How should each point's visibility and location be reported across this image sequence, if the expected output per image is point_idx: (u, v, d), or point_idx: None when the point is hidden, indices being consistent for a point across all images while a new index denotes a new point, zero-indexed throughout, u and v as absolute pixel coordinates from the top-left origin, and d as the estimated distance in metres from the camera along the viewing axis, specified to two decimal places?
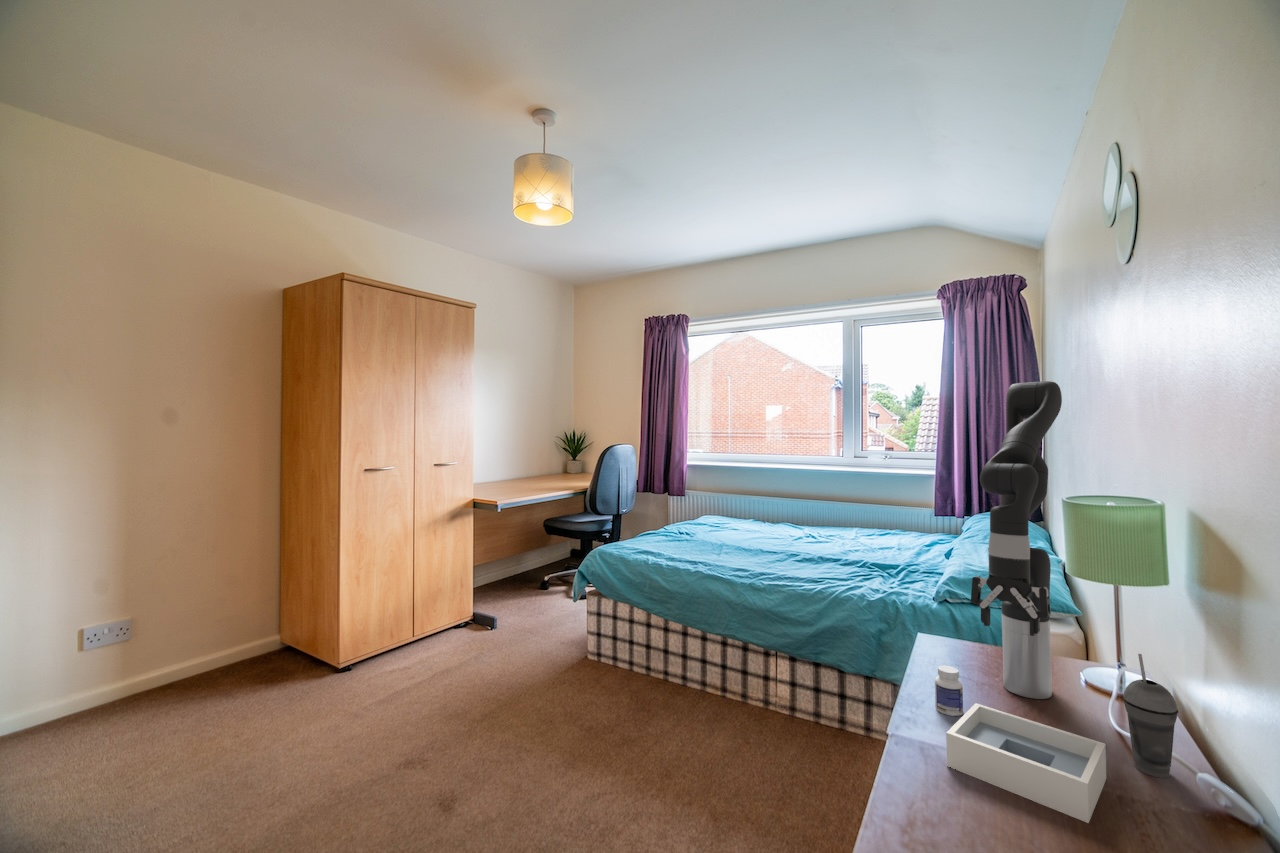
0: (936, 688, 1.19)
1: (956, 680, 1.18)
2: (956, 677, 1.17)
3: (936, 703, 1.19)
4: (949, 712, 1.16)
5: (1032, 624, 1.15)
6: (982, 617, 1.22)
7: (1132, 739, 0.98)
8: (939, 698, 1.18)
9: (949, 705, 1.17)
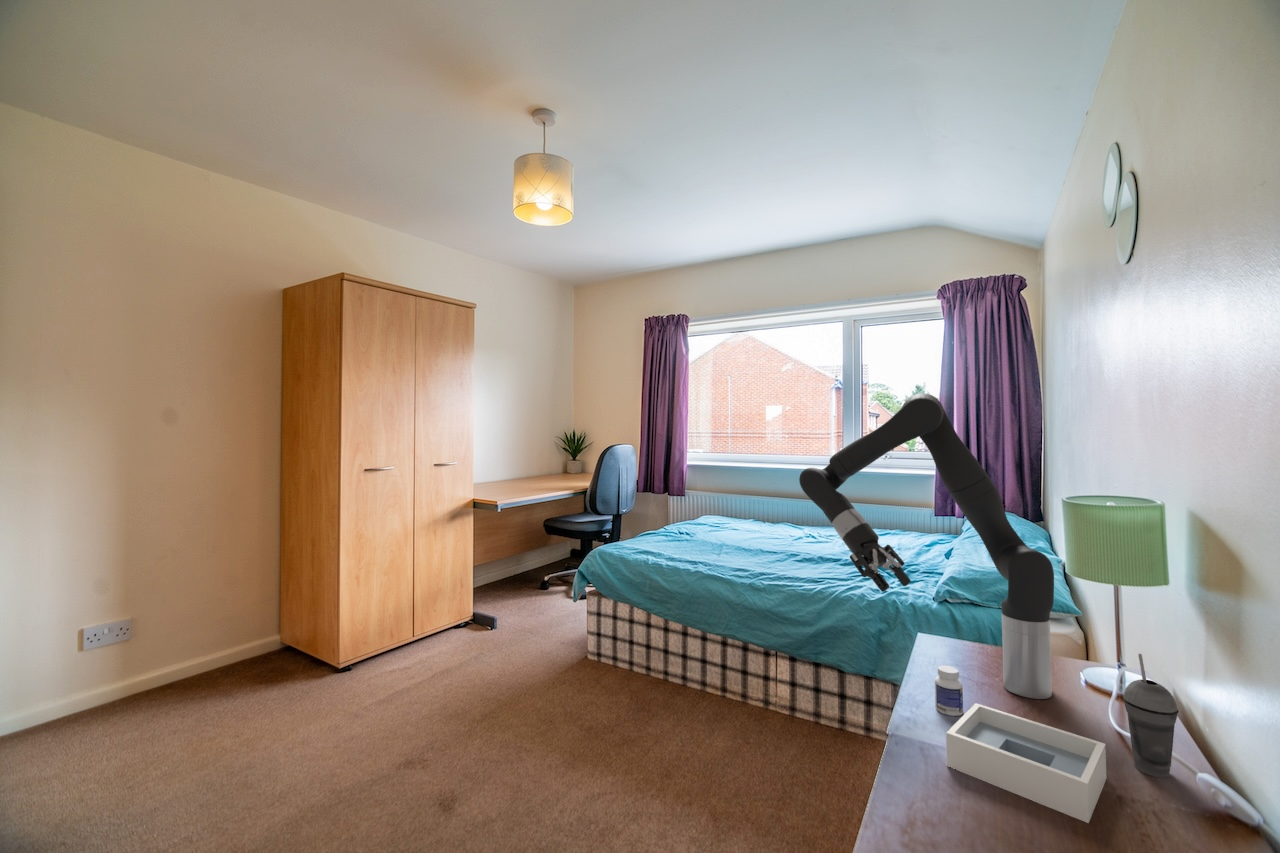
0: (936, 688, 1.19)
1: (956, 680, 1.18)
2: (956, 677, 1.17)
3: (936, 703, 1.19)
4: (949, 712, 1.16)
5: None
6: None
7: (1132, 739, 0.98)
8: (939, 698, 1.18)
9: (949, 705, 1.17)
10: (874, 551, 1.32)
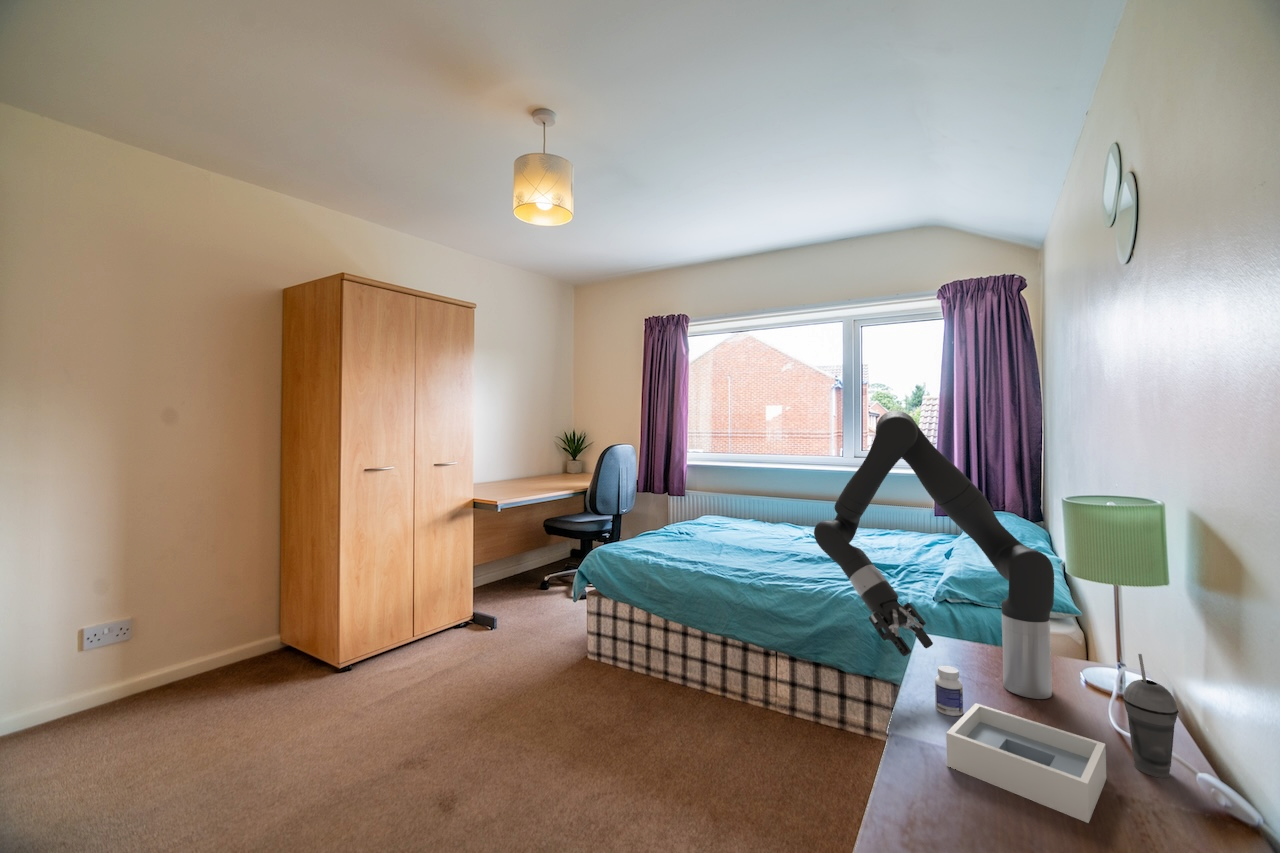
0: (936, 688, 1.19)
1: (956, 680, 1.18)
2: (956, 677, 1.17)
3: (936, 703, 1.19)
4: (949, 712, 1.16)
5: None
6: None
7: (1132, 739, 0.98)
8: (939, 698, 1.18)
9: (949, 705, 1.17)
10: (894, 612, 1.28)
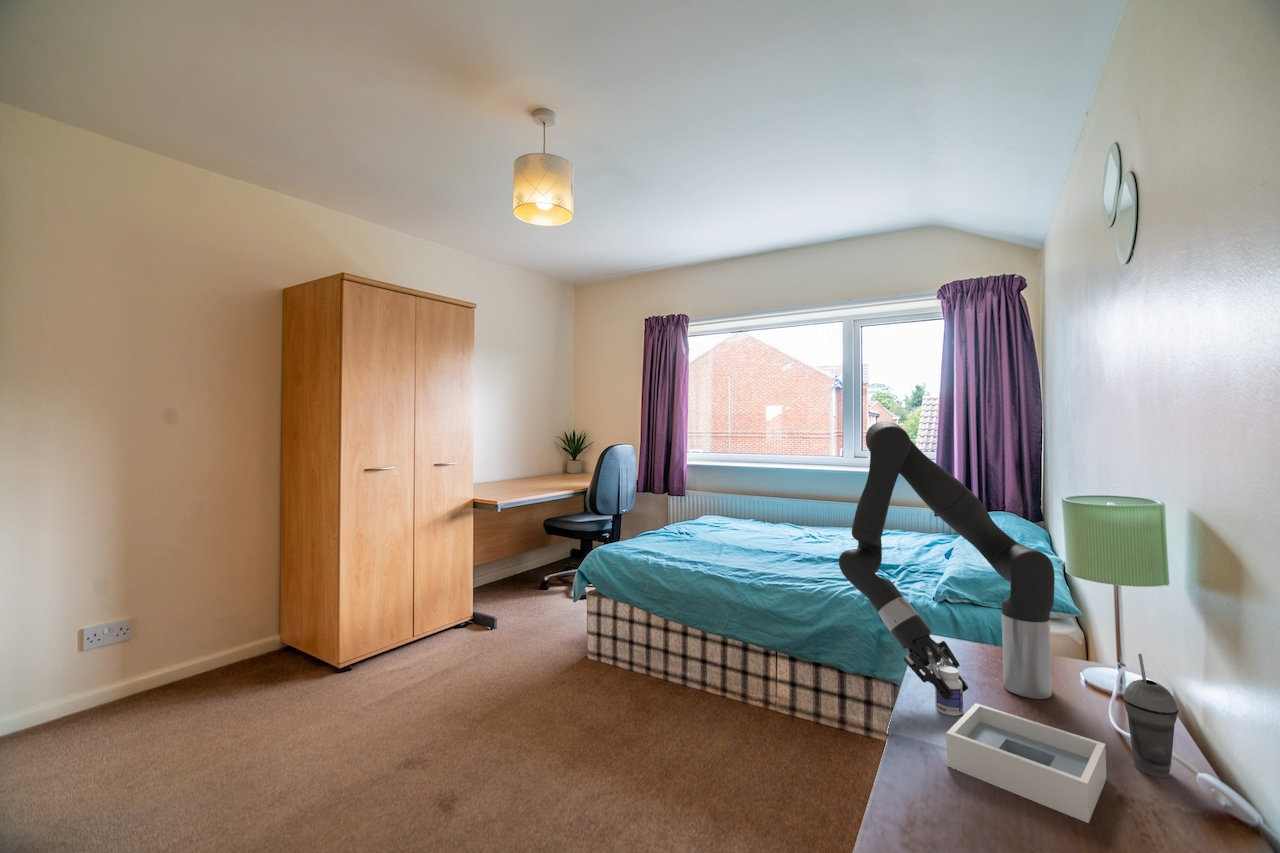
0: None
1: (956, 680, 1.18)
2: (956, 677, 1.17)
3: (936, 703, 1.19)
4: (949, 712, 1.16)
5: None
6: None
7: (1132, 739, 0.98)
8: (939, 698, 1.18)
9: (949, 705, 1.17)
10: (928, 649, 1.21)
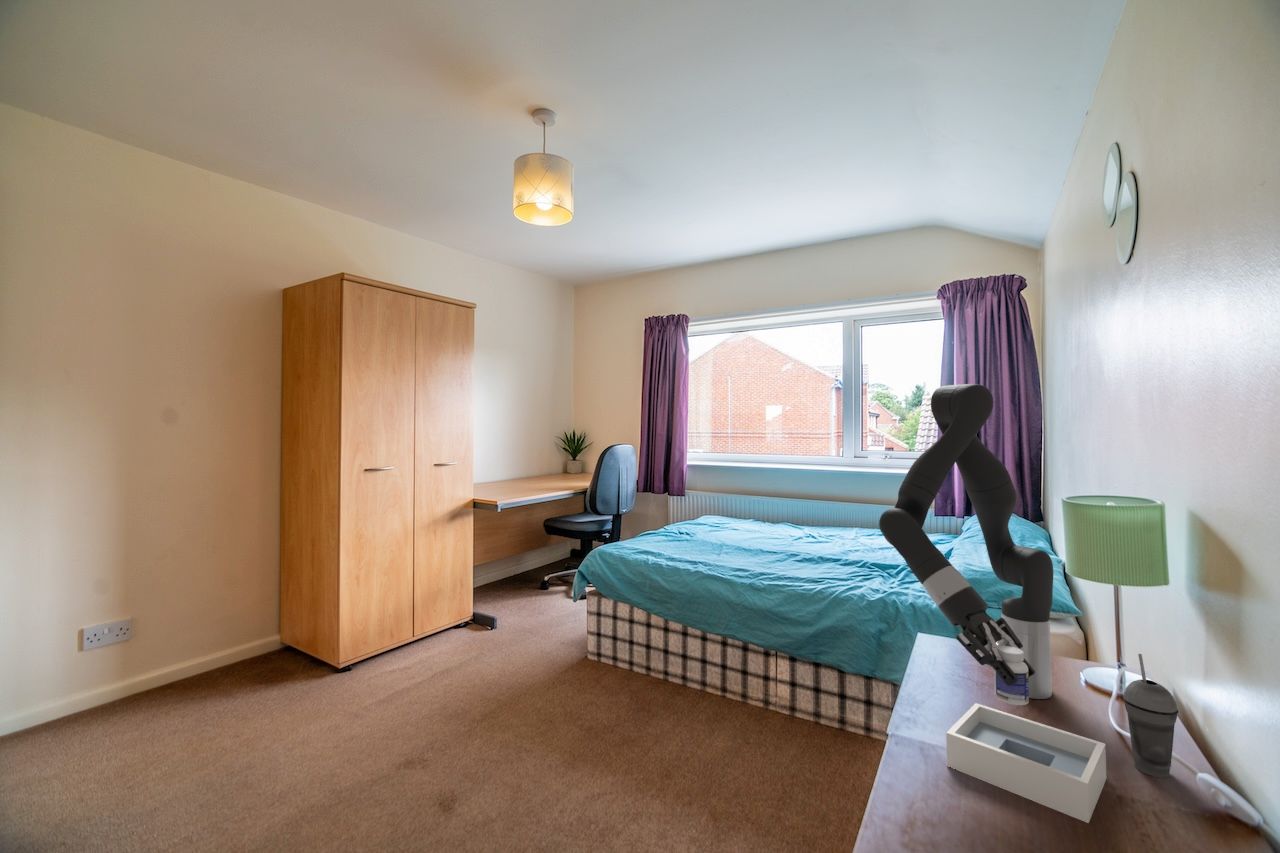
0: (996, 672, 0.99)
1: (1021, 663, 0.98)
2: (1021, 659, 0.97)
3: (995, 690, 1.00)
4: (1013, 701, 0.97)
5: None
6: None
7: (1132, 739, 0.98)
8: (1000, 684, 0.98)
9: (1013, 692, 0.97)
10: (985, 626, 1.02)
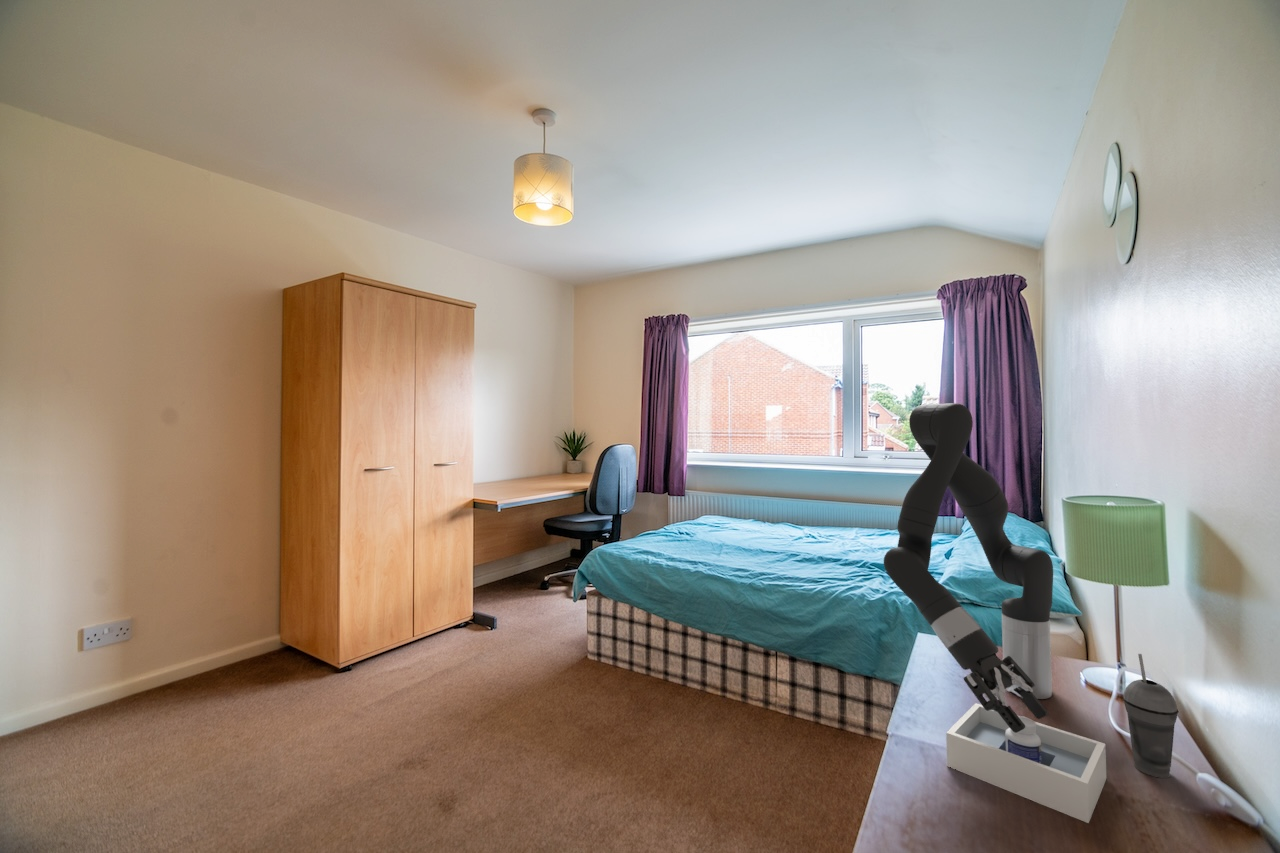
0: (1008, 744, 0.97)
1: (1033, 735, 0.96)
2: (1033, 731, 0.96)
3: None
4: None
5: None
6: None
7: (1132, 739, 0.98)
8: None
9: None
10: (996, 671, 0.99)
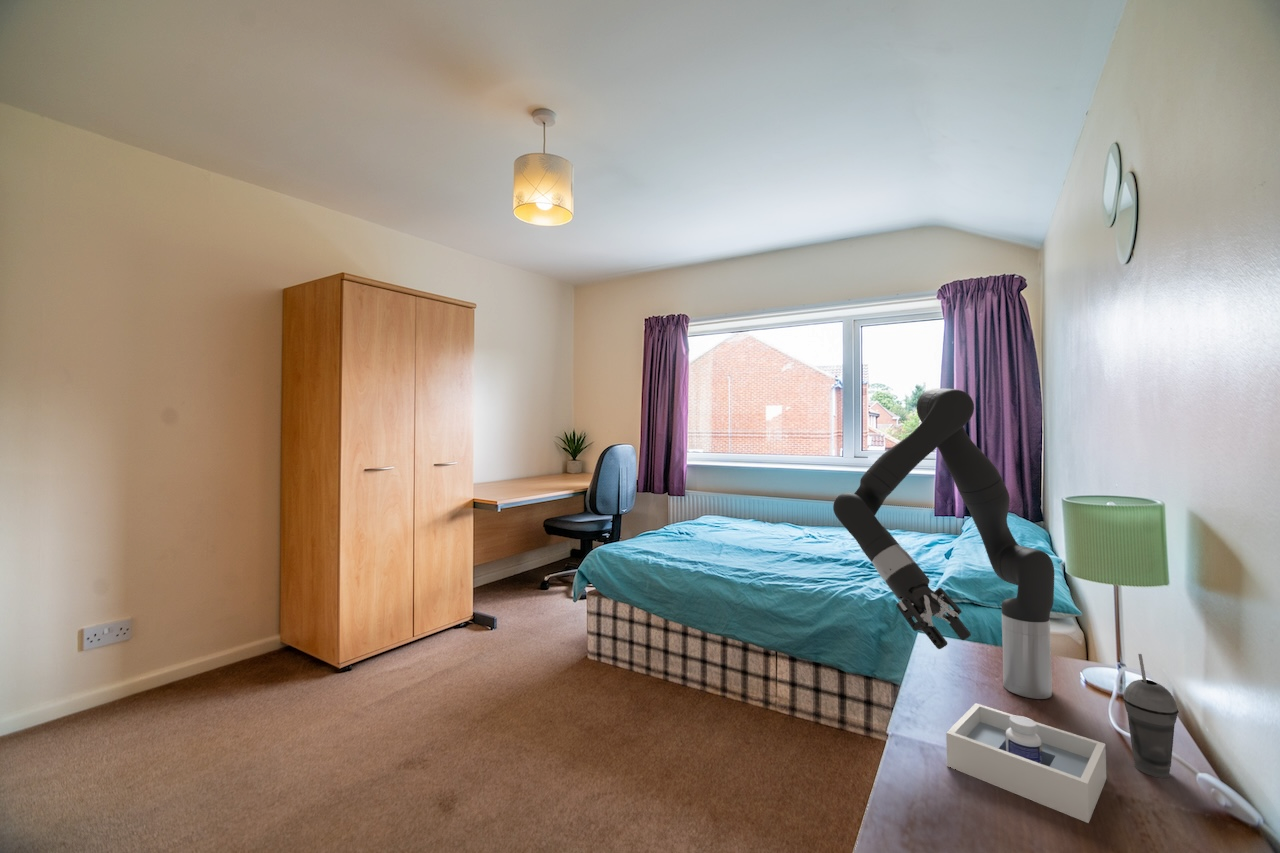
0: (1008, 744, 0.97)
1: (1034, 735, 0.96)
2: (1034, 731, 0.96)
3: None
4: None
5: None
6: None
7: (1132, 739, 0.98)
8: None
9: None
10: (926, 598, 1.11)
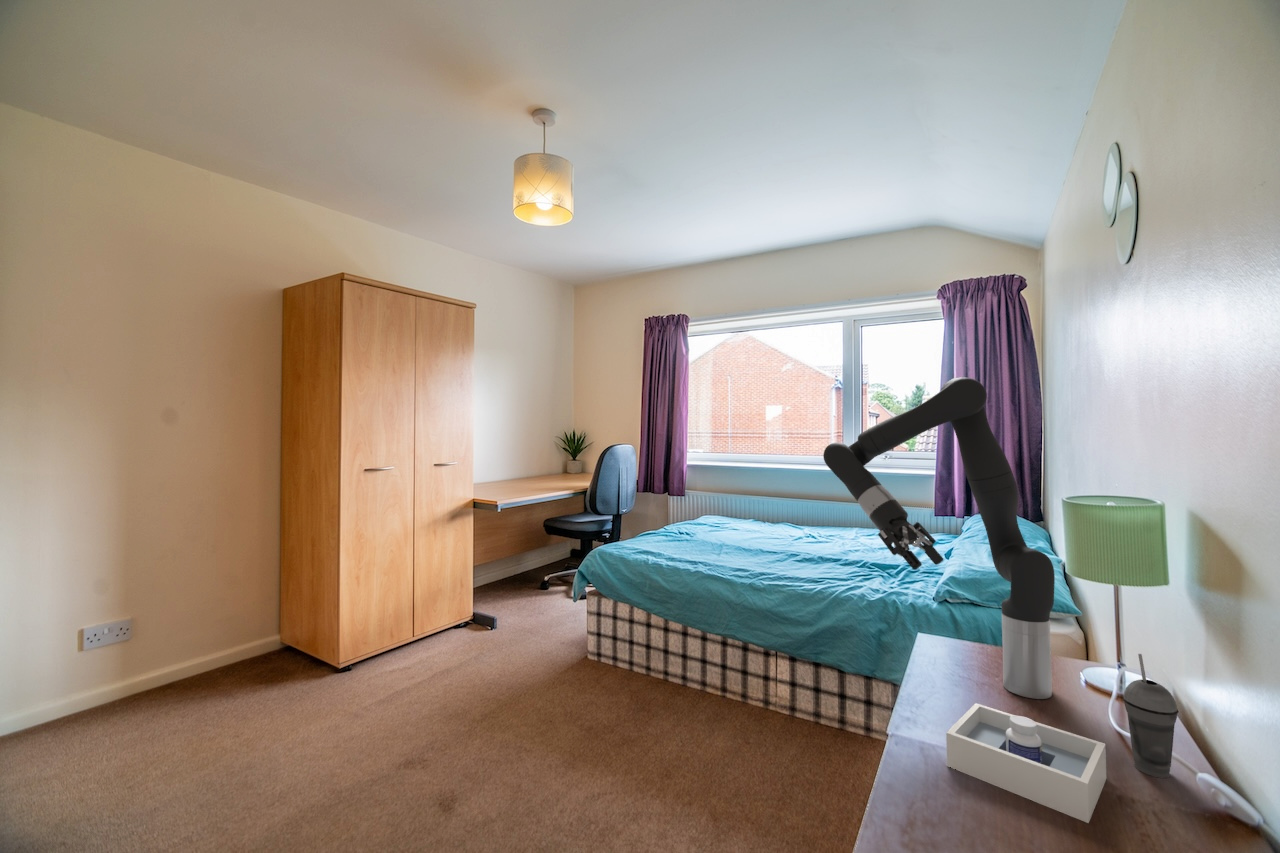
0: (1008, 744, 0.97)
1: (1034, 735, 0.96)
2: (1034, 732, 0.95)
3: None
4: None
5: None
6: None
7: (1132, 739, 0.98)
8: None
9: None
10: (904, 528, 1.26)
